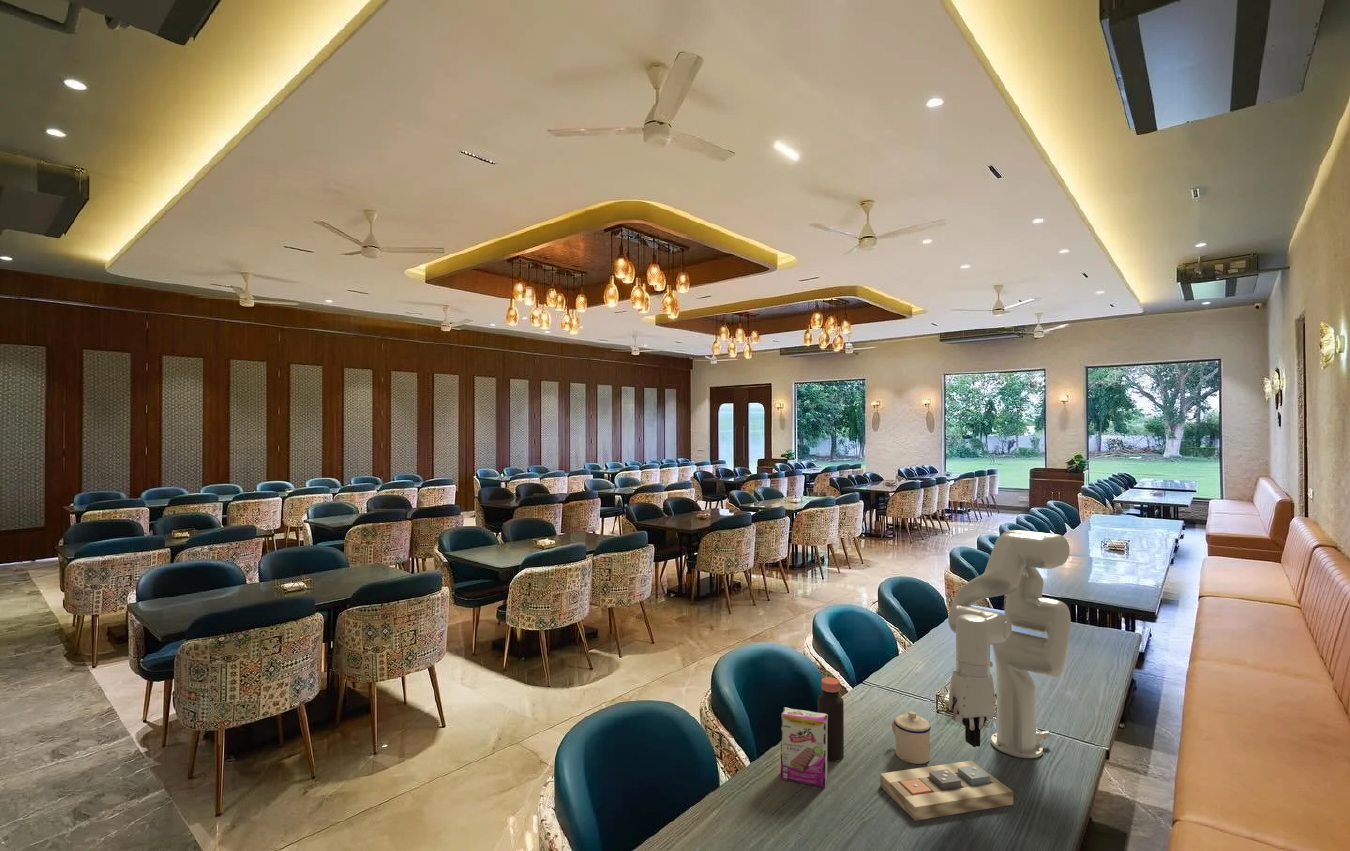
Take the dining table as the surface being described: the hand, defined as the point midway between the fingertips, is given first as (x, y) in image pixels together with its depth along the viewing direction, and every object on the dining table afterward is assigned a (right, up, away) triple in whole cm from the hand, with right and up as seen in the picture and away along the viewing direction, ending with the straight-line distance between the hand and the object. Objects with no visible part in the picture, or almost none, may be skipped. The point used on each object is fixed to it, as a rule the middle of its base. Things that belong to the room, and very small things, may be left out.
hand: (972, 743), depth 149 cm
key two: (0, -10, 0) cm, 10 cm away
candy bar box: (-40, -12, +5) cm, 42 cm away
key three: (-7, -10, -2) cm, 13 cm away
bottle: (-30, -12, +16) cm, 37 cm away
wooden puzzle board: (-7, -11, -2) cm, 14 cm away
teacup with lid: (-9, -12, +17) cm, 23 cm away
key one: (-15, -11, -4) cm, 19 cm away
